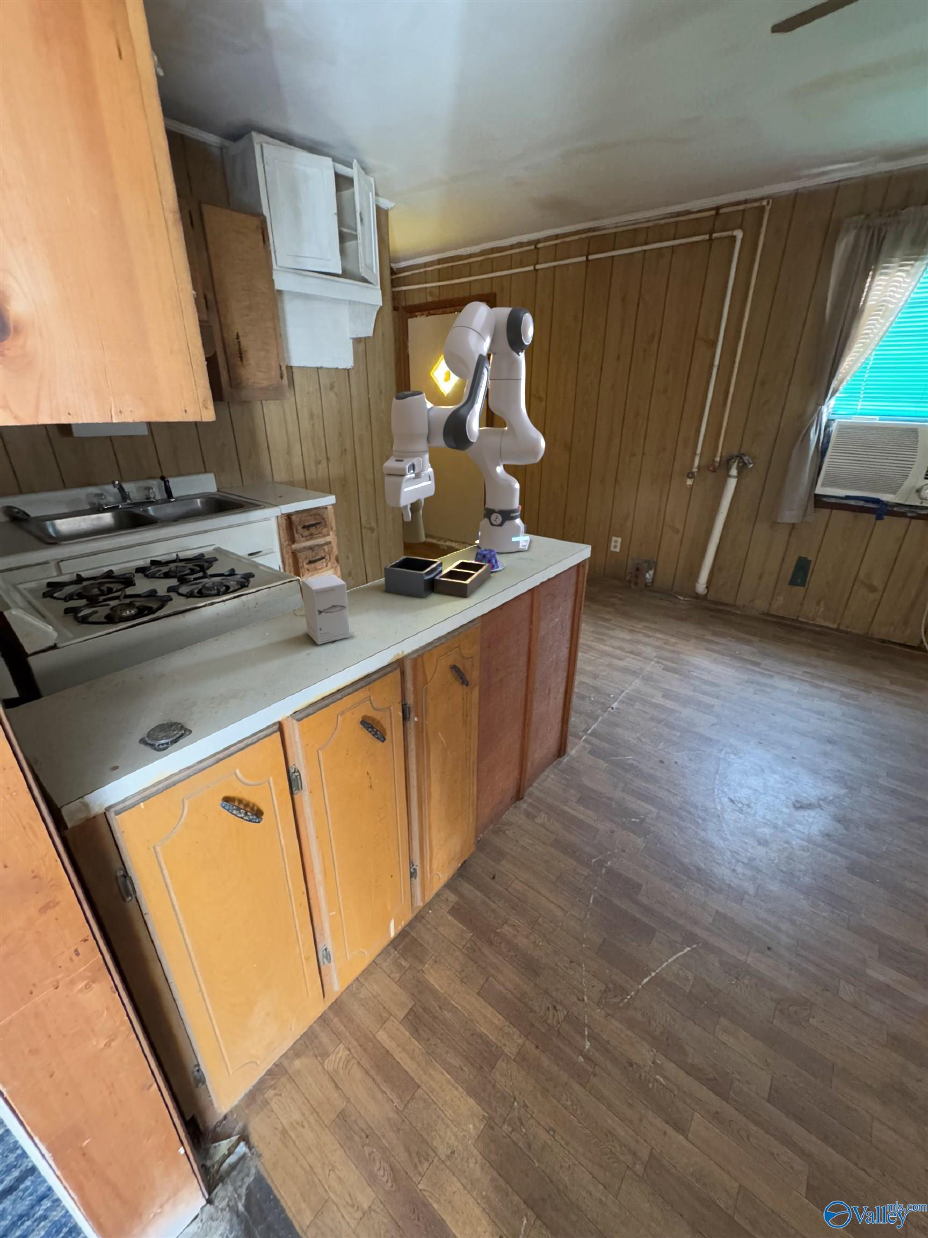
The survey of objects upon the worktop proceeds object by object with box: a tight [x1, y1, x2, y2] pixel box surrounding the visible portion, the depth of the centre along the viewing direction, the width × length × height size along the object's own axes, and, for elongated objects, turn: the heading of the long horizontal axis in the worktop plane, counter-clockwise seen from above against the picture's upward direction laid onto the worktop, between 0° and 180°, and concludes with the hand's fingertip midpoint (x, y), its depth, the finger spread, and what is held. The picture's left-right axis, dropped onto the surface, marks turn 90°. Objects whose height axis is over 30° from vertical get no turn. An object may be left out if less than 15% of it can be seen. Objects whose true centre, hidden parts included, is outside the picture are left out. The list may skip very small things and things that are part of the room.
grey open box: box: [383, 555, 443, 599], centre depth 136 cm, size 12×12×7 cm
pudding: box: [471, 548, 506, 572], centre depth 153 cm, size 12×12×5 cm
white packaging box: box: [300, 573, 351, 645], centre depth 107 cm, size 7×7×13 cm
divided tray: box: [433, 559, 492, 598], centre depth 139 cm, size 18×10×4 cm, turn 158°
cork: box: [401, 499, 426, 544], centre depth 130 cm, size 6×6×11 cm
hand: (412, 518), depth 129 cm, fingers closed on cork, 4 cm apart
